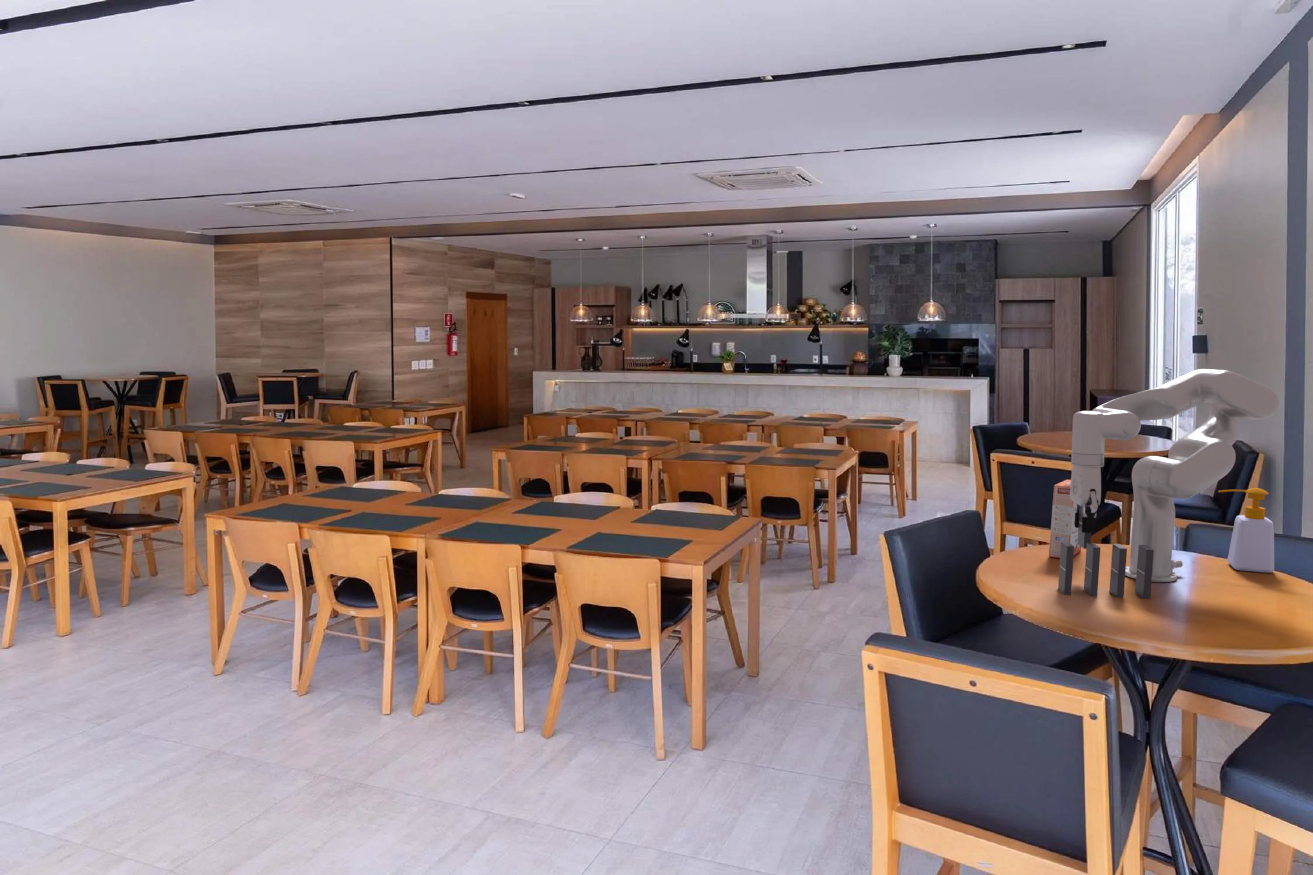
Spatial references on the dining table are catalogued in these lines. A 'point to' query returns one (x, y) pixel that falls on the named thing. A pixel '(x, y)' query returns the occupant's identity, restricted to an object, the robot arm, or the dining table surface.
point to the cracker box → (1063, 520)
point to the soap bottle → (1252, 537)
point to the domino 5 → (1144, 571)
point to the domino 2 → (1082, 537)
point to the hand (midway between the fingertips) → (1084, 529)
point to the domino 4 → (1118, 570)
